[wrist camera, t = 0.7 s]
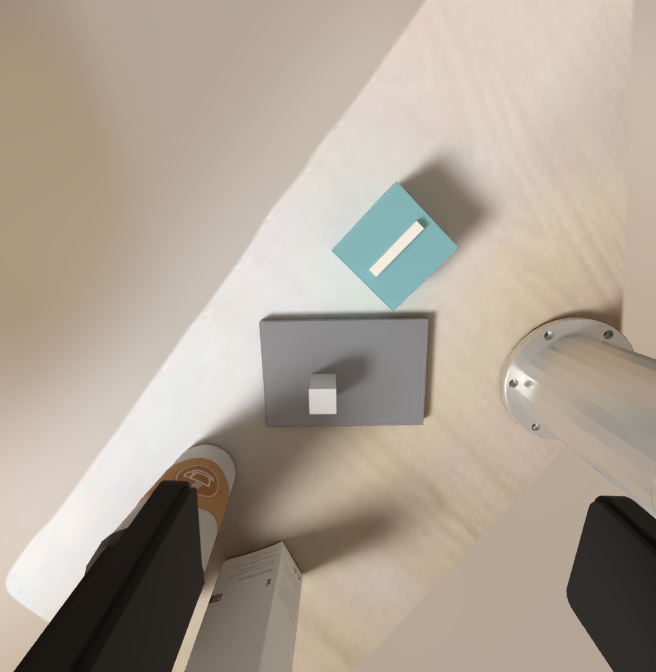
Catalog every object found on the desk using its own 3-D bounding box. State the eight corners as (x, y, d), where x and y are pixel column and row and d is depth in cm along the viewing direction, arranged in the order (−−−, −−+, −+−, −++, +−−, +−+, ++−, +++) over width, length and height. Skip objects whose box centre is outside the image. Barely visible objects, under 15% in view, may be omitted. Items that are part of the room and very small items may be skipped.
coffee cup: (258, 453, 38) (211, 583, 23) (228, 510, 40) (167, 663, 25) (187, 421, 37) (91, 534, 22) (160, 481, 39) (56, 621, 24)
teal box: (386, 191, 31) (397, 179, 25) (439, 247, 32) (461, 248, 27) (332, 249, 32) (331, 250, 27) (384, 301, 33) (394, 312, 28)
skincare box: (283, 539, 41) (255, 699, 26) (304, 576, 42) (289, 749, 28) (220, 560, 42) (159, 728, 27) (242, 597, 43) (196, 774, 29)
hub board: (425, 317, 34) (440, 328, 29) (420, 420, 36) (433, 445, 32) (261, 319, 34) (249, 331, 29) (268, 421, 37) (259, 447, 32)
